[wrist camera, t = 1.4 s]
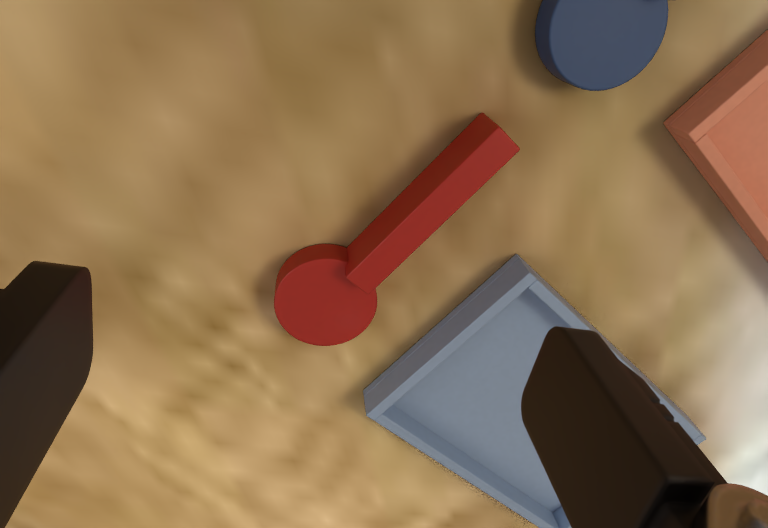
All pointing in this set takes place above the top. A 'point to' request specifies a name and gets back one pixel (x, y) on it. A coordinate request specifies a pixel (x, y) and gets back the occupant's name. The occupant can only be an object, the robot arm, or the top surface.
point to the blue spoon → (599, 39)
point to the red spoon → (384, 241)
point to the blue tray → (487, 390)
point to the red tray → (732, 138)
